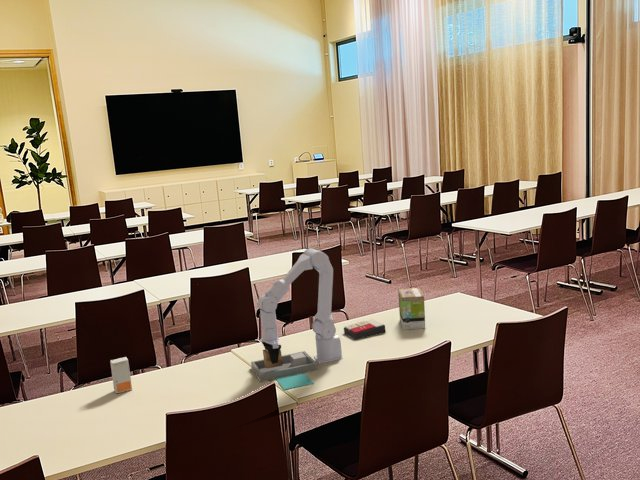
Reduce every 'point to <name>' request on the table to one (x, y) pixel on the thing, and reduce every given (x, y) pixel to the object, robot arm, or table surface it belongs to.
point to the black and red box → (364, 329)
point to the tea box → (411, 308)
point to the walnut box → (268, 361)
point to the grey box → (298, 359)
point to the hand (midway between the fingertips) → (273, 360)
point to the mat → (294, 381)
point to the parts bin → (282, 368)
